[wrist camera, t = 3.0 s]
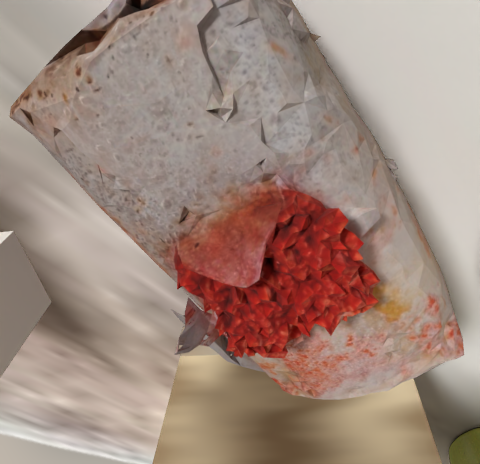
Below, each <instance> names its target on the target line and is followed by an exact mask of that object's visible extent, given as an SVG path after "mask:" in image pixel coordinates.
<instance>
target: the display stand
mask: <svg viewBox="0 0 480 464" xmlns="http://www.w3.org/2000/svg"><path fill="white" fill-rule="evenodd" d="M184 329H185V327H183V329H182V332H183V330H184ZM181 334H182V333H181ZM182 346H183V345H179V349H180V348H181V347H182ZM153 464H442V462H441V459H440V456H439V453H438V450H437V447H436V444H435V441H434V438H433V435H432V432H431V429H430V426H429V423H428V420H427V417H426V414H425V411H424V408H423V405H422V403H421V400H420V397H419V394H418V391H417V388H416V385H415V382H414V379H410V380H408V381H405V382H402V383H401V384H399V385H397V386H395V387H394V388H392V389H390V390H388V391H383V392H376V393H370V394H367V395H364V396H359V397H353V398H347V399H340V400H322V399H312V398H307V397H303V396H295V395H291V394H289V393H287V392H285V391H283V390H282V389H281V387H280V385H279V384H278V383H276V382H275V381H274V380H273V379H271V378H270V377H269V376H268V375H267V374H266V373H265V372H261V371H256V370H253V369H249V368H245V367H242V366H239V365H236V364H233V363H230V362H228V361H226V360H225V359H224V358H222V357H221V356H220V355H219V354H218V353H217V352H216V351H214V350H213V349H212V348H211V347H209V346H208V347H207V346H202V345H199V346H197V347H196V348H194V349H193V350H192V351H190V352H188V353H182V354H180V360H179V364H178V368H177V372H176V376H175V379H174V383H173V387H172V391H171V395H170V399H169V402H168V406H167V410H166V414H165V418H164V422H163V425H162V429H161V433H160V437H159V441H158V445H157V448H156V452H155V456H154V460H153Z"/></svg>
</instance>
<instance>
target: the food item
mask: <svg viewBox="0 0 480 464" xmlns="http://www.w3.org/2000/svg"><path fill="white" fill-rule="evenodd" d="M319 37H321V36H317V35H313V34H311V33H310V32H309V30H308V28H307V26H306V24H305V22H304V20H303V18H302V16H301V15H300V13H299V11H298V10H297V8H296V7H295V5H294V4H293V2H292V0H113V1H112V2H111V4H110V5H109V6H108V7H107V8H106V9H105V10H104V11H103V12H102V13H101V14H100V15H98V16H97V17H96V18H95V19H94V20H93V21H92V22H91V23H90V24H88V25H87V26H86V27H85V28H83V29H82V30H81V31H80V32H79V33H78V34H77V35H76V36H74V37H73V38H72V39H71V40H70V41H69V42H68V43H67V44H66V45H65V46H64V47H63V48H62V49H61V50H60V51H59V52H58V53H57V54H56V55H55V57H54V58H53V59H52V60H51V61H50V62H49V63H48V64H47V65H46V66H45V67H44V69H43V70H42V71H41V72H40V73H39V74H38V76H37V77H36V78H35V79H34V80H33V81H32V83H31V84H30V85H29V86H28V87H27V88H26V90H25V91H24V92H23V93H22V94H21V95H20V97H19V98H18V99H17V100H16V101H15V103H14V104H13V105H12V106H11V110H10V118H12V119H13V120H14V121H16V122H17V123H18V124H20V125H21V126H22V127H24V128H25V129H26V130H28V131H29V132H30V133H31V134H33V135H34V136H35V137H36V138H37V139H38V141H39V142H40V143H41V144H42V145H43V146H44V147H45V148H46V149H47V150H48V151H49V152H50V154H51V155H52V156H53V157H54V158H55V159H56V160H57V161H58V162H59V163H60V164H61V165H62V166H63V167H64V168H65V170H66V171H67V172H68V173H69V174H70V175H71V176H72V177H73V178H74V179H75V180H76V181H77V183H78V184H79V185H80V186H81V187H82V188H83V189H84V190H85V192H86V193H87V194H88V195H89V196H90V197H91V198H92V199H93V200H94V201H95V202H96V203H97V205H98V206H99V207H100V208H101V209H102V210H103V211H104V212H105V213H106V214H107V215H108V216H109V217H110V218H111V219H112V220H113V221H114V222H115V223H116V224H117V225H119V226H120V227H121V228H122V229H123V230H124V231H125V232H126V233H127V234H128V235H129V236H130V237H131V238H132V239H133V240H134V242H135V243H136V244H137V245H138V246H139V247H140V248H141V249H142V250H143V251H144V252H145V253H146V254H147V255H148V256H149V257H150V258H151V259H152V260H153V261H154V262H155V263H156V264H157V265H158V266H159V267H160V268H161V269H163V270H164V271H165V272H166V273H167V274H168V275H169V276H170V277H171V278H172V279H173V280H174V281H175V282H177V289H179V288H180V287H182V289H183V290H184V291H185V292H186V293H187V294H188V295H189V296H190V297H191V298H192V299H193V300H194V301H195V302H196V303H197V304H198V305H199V306H200V307H201V308H202V309H203V310H204V311H202V310H200V309H199V308H198V307H197V306H196V305H195V304H194V303H193V302H192V301H191V300H190V299H189V298H188V301H187V306H186V310H185V315H184V316H183V315H181V314H179V313H177V312H175V311H174V310H172V309H171V310H172V311H173V312H174V313H175V315H176V316H177V317H178V318H179V319H180V320H181V321H182V322H183V323H184V324H185V329H184V330H183V332H182V334H181V335H180V337H179V340H178V344H177V347H176V351H175V355H176V354H182V353H188V352H190V351H192V350H193V349H194V348H196V347H197V346H199V345H202V346H207V347H208V346H209V347H211V348H212V349H213V350H214V351H216V352H217V353H218V354H219V355H220V356H221V357H222V358H224V359H225V360H226V361H228V362H230V363H233V364H236V365H239V366H242V367H245V368H249V369H253V370H256V371H261V372H265V373H266V374H267V375H268V376H269V377H270V378H271V379H273V380H274V381H275V382H276V383H278V384H279V385H280V387H281V389H282V390H283V391H285V392H287V393H289V394H291V395H295V396H303V397H307V398H312V399H322V400H340V399H347V398H353V397H359V396H364V395H367V394H370V393H376V392H383V391H388V390H390V389H392V388H394V387H395V386H397V385H399V384H401V383H402V382H405V381H408V380H410V379H413V378H416V377H418V376H420V375H422V374H424V373H426V372H427V371H429V370H431V369H433V368H435V367H437V366H439V365H440V364H442V363H444V362H446V361H449V360H453V359H456V358H459V357H461V356H463V355H464V349H463V339H462V336H461V332H460V329H459V326H458V323H457V320H456V317H455V314H454V311H453V307H452V303H451V299H450V295H449V292H448V289H447V286H446V283H445V281H444V278H443V275H442V272H441V270H440V267H439V265H438V263H437V261H436V259H435V257H434V255H433V253H432V251H431V248H430V246H429V244H428V242H427V240H426V238H425V236H424V234H423V232H422V230H421V228H420V226H419V224H418V222H417V219H416V217H415V215H414V213H413V211H412V209H411V207H410V205H409V203H408V201H407V199H406V197H405V196H404V194H403V192H402V190H401V188H400V187H399V185H398V183H397V180H396V178H397V176H395V175H394V174H393V172H392V171H391V169H390V168H394V169H398V168H397V166H396V164H395V162H394V160H391V159H385V157H384V155H383V153H382V151H381V149H380V147H379V145H378V143H377V142H376V140H375V138H374V137H373V135H372V134H371V132H370V130H369V129H368V127H367V126H366V124H365V123H364V122H363V120H362V119H361V118H360V116H359V115H358V114H357V113H356V111H355V110H354V109H353V107H352V105H351V103H350V102H349V100H348V98H347V96H346V94H345V92H344V90H343V88H342V87H341V85H340V83H339V81H338V79H337V78H336V76H335V75H334V74H333V72H332V71H331V69H330V68H329V66H328V65H327V63H326V62H325V58H324V56H323V55H322V54H321V52H320V50H319V48H318V47H317V45H316V43H315V40H317V39H318V38H319ZM179 345H183V346H182V347H181V348H180V349H179Z"/></svg>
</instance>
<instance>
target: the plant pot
mask: <svg viewBox="0 0 480 464" xmlns="http://www.w3.org/2000/svg"><path fill="white" fill-rule="evenodd" d="M449 459H450V464H480V428H477V429H473V430H471V431H468V432H466V433H464V434H463V435H461V436H460V437H458V438H457V439H456V440H455V441H454V442H453V443H452V444H451V446H450V448H449Z"/></svg>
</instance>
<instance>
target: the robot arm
mask: <svg viewBox="0 0 480 464" xmlns="http://www.w3.org/2000/svg"><path fill="white" fill-rule="evenodd" d="M50 304H51V300H50V298H49V296H48V294H47V293H46V291H45V289H44V287H43V285H42V283H41V281H40V279H39V278H38V276H37V274H36V272H35V270H34V268H33V266H32V264H31V263H30V261H29V259H28V257H27V255H26V253H25V251H24V249H23V248H22V246H21V244H20V242H19V240H18V238H17V236H16V235H15V233H14V231H8V232H0V377H1V376H2V374H3V373H4V371H5V370H6V368H7V367H8V366H9V364H10V363H11V361H12V360H13V358H14V357H15V355H16V354H17V352H18V351H19V349H20V348H21V346H22V345H23V343H24V342H25V340H26V339H27V338H28V336H29V335H30V333H31V332H32V330H33V329H34V327H35V326H36V324H37V323H38V321H39V320H40V318H41V317H42V315H43V314H44V312H45V311H46V310H47V308H48V307H49V305H50Z"/></svg>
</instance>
